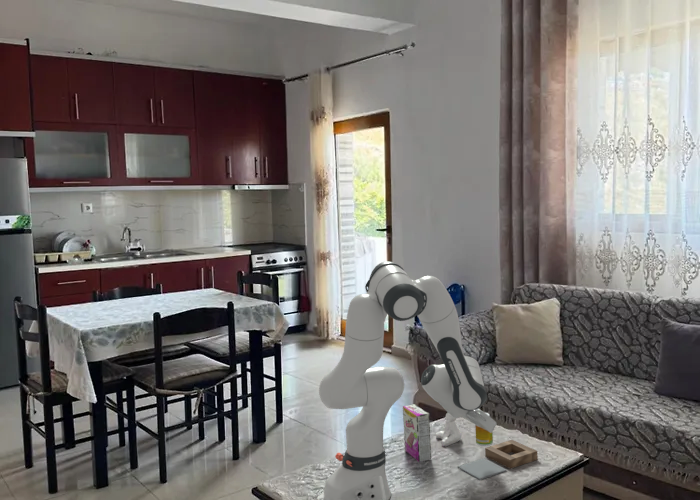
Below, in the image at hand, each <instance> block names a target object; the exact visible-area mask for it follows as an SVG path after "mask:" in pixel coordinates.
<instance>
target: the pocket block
mask: <svg viewBox="0 0 700 500" xmlns="http://www.w3.org/2000/svg"><path fill="white" fill-rule="evenodd" d="M484 453H485V454H484V455H485V457H484V458H488V459H489V460H490V461H491V460H492V462H494V463H498V464H500V465H501V466H504V467H506V468H508V469H509V470H511V469H514V468H517V467H520V466H523V465H526V464H529V463H532V462H535V461H537V460H539V459H538V450H536V449H534V448H531V447H529V446H527V445H524V444H522V443H520V442H518V441H516V440H514V439H509V440H507V441H502V442H501V443H500V442H499V443H496V444H492V445H490V446H486V447H485V448H484ZM511 453H512V454H511ZM510 454H511V455H510Z"/></svg>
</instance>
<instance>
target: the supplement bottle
mask: <svg viewBox="0 0 700 500" xmlns="http://www.w3.org/2000/svg"><path fill="white" fill-rule="evenodd" d="M485 413H486V414H487V415H488V416H489V417H491V415H490V413H488V412H485ZM474 428H475V443H476V444H477V445H478V446H479V447H480V446H481V447H490V446H493V445H494V442H493V441H494V439H493V438H494V436H493V432H494V431H493V432H492V433H490V432H488V431H487V430H485V429H483V428H481V427H479V426H477V425H475V424H474Z"/></svg>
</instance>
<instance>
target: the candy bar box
mask: <svg viewBox="0 0 700 500" xmlns="http://www.w3.org/2000/svg"><path fill="white" fill-rule="evenodd" d="M402 415H403V416H402V417H403V419H402V421H403V437H404V452H406V453H407V454H408V455H410V457H412V458H414V459H415V461H417V462H418V463H423V462H428V461H431V460H432V447H431V427H430V424H431V423H430V413H429V412H427V411H426V410H424V409H422V408H421V407H419V406H418V405H416V404H414V403H413V404H408V405H404V406H402Z"/></svg>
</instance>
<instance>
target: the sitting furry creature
mask: <svg viewBox="0 0 700 500" xmlns="http://www.w3.org/2000/svg"><path fill="white" fill-rule="evenodd" d="M444 419H445V423H444V425H443V427H444V428H443V430H440V431H437V432H436V433H435V438H436V439H439V440H441V446H442V447H447V446H452V445H453V444H456V443H458V442H459V441H460V440H461V439H462V435H463V434H462V432H461V430H460V428H459V426H458V425H457V422H456V420H457V419H458V418H454V417H453V416H452V415H451V414H449V413H448V412H447V413H446V414H445V418H444Z"/></svg>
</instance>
